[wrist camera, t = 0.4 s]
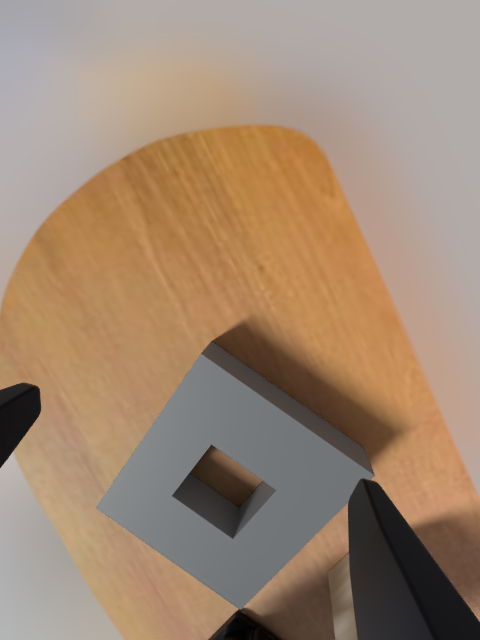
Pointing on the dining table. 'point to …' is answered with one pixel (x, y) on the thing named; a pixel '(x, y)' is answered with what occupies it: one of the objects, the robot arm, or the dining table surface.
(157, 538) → the socket block
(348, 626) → the square peg
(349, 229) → the dining table surface
